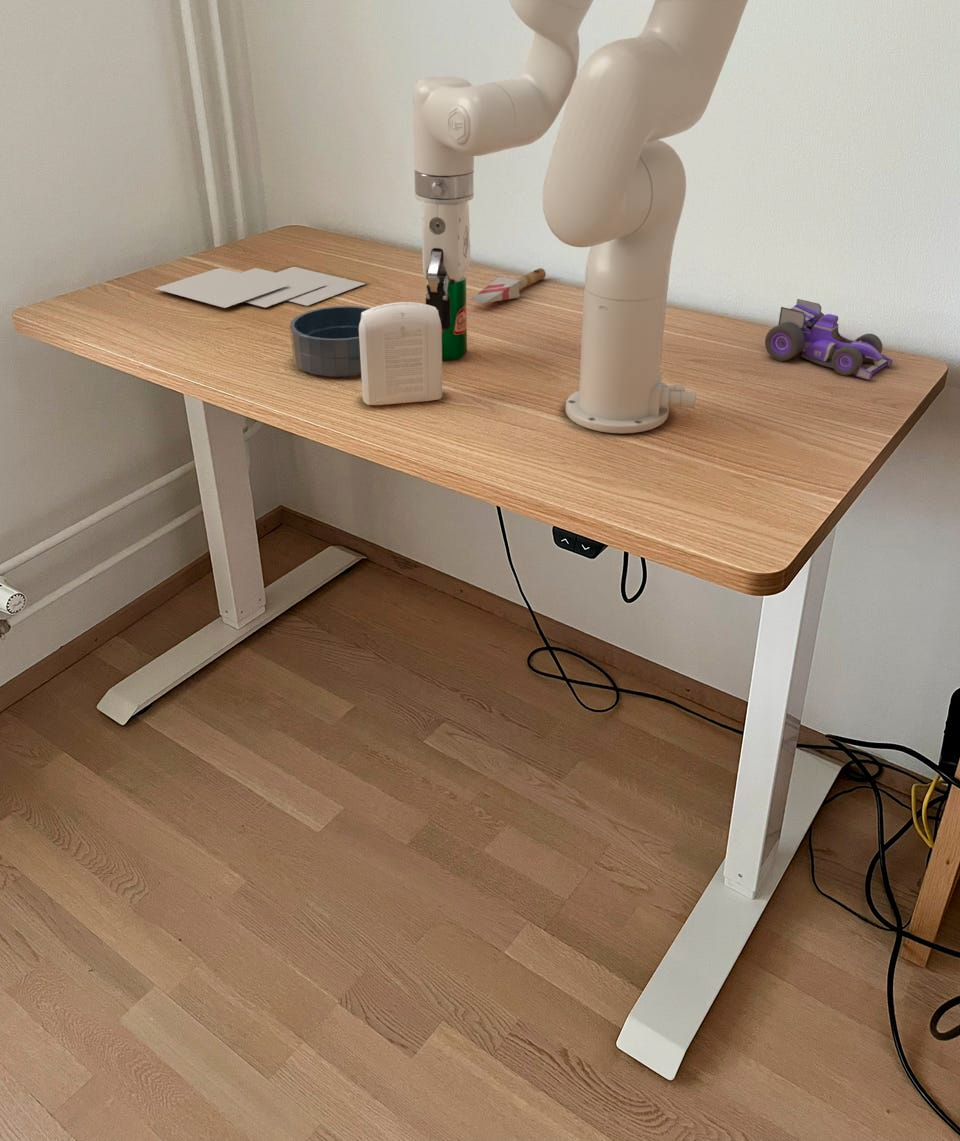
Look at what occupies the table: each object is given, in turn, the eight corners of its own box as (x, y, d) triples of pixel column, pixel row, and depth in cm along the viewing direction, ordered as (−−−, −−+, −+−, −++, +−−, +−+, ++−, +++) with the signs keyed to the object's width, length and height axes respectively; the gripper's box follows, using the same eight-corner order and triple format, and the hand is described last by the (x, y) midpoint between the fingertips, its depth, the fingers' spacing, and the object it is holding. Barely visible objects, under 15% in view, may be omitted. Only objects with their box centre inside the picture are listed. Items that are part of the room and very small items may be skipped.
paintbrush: (466, 289, 157) (532, 263, 171) (466, 307, 158) (531, 279, 173) (487, 293, 155) (552, 267, 170) (487, 311, 157) (551, 283, 171)
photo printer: (439, 388, 132) (437, 294, 126) (446, 401, 129) (443, 305, 122) (360, 396, 130) (354, 301, 124) (365, 409, 127) (358, 312, 120)
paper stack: (259, 258, 182) (259, 254, 181) (365, 283, 169) (365, 279, 169) (154, 292, 166) (154, 288, 166) (263, 322, 154) (262, 318, 153)
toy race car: (864, 384, 133) (875, 336, 129) (762, 356, 142) (769, 310, 138) (895, 364, 139) (906, 317, 135) (795, 338, 147) (802, 294, 144)
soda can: (462, 363, 140) (461, 276, 133) (426, 361, 141) (424, 274, 134) (470, 350, 144) (469, 265, 137) (435, 348, 145) (433, 263, 138)
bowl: (402, 346, 146) (401, 308, 143) (380, 382, 134) (377, 342, 131) (311, 341, 147) (307, 303, 144) (281, 376, 136) (276, 337, 133)
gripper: (461, 203, 122) (461, 340, 132) (483, 171, 137) (482, 296, 146) (400, 200, 123) (404, 336, 133) (428, 168, 137) (430, 293, 147)
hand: (445, 315), depth 139 cm, fingers open, 9 cm apart
